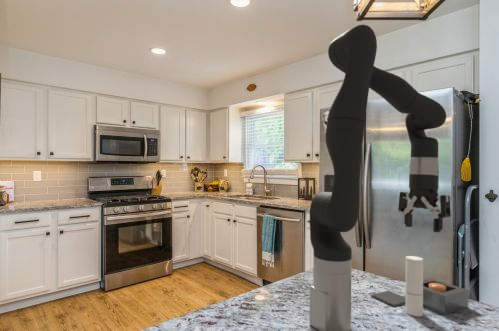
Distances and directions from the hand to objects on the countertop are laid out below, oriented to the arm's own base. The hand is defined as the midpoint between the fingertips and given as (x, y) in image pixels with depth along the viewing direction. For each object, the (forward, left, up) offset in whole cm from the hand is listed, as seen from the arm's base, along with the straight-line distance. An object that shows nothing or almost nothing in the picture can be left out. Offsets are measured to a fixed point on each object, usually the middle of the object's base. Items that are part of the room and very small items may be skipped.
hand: (422, 229), depth 90 cm
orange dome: (+6, -1, -19) cm, 20 cm away
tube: (-6, -2, -22) cm, 23 cm away
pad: (-4, +7, -22) cm, 24 cm away
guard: (+6, -1, -22) cm, 23 cm away
